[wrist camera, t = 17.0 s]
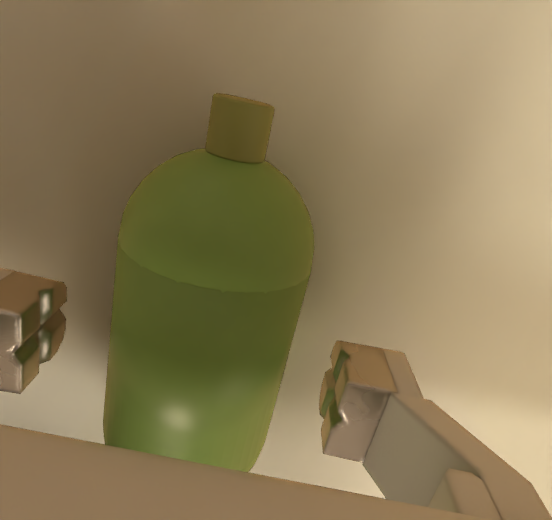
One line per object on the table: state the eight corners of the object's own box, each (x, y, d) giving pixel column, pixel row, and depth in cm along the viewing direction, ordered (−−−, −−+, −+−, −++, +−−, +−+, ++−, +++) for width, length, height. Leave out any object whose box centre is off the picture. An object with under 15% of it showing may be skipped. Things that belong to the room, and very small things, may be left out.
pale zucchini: (166, 76, 9) (89, 72, 6) (339, 115, 9) (366, 135, 6) (130, 406, 13) (68, 530, 9) (257, 431, 13) (244, 562, 9)
